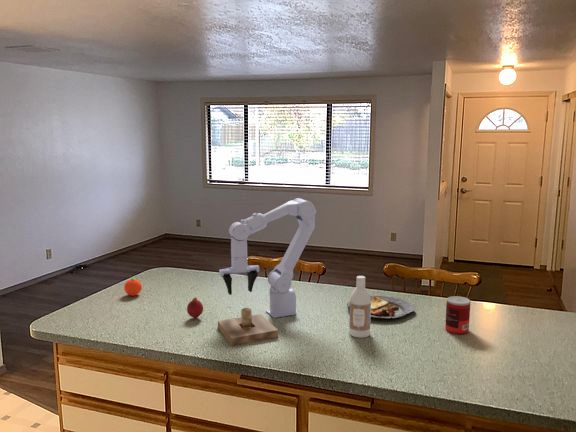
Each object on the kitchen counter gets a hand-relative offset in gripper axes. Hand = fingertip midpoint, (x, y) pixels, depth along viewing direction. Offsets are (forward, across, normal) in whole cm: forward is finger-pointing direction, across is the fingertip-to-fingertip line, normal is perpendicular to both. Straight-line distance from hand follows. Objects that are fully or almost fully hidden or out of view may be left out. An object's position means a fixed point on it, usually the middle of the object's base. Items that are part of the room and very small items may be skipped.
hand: (240, 292), depth 182 cm
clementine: (+10, +32, -44) cm, 55 cm away
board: (+10, +2, +13) cm, 16 cm away
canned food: (+10, -64, +41) cm, 77 cm away
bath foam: (+10, -32, +30) cm, 45 cm away
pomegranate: (+10, +15, -7) cm, 19 cm away
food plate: (+10, -51, +14) cm, 54 cm away
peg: (+10, +2, +13) cm, 16 cm away
